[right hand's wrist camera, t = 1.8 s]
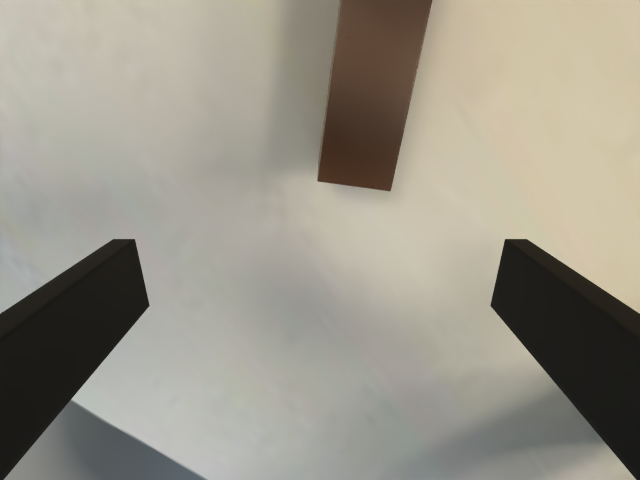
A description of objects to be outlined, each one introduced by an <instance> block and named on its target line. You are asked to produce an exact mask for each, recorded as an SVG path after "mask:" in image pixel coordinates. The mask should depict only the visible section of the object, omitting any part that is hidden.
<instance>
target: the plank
mask: <svg viewBox="0 0 640 480" xmlns="http://www.w3.org/2000/svg"><path fill="white" fill-rule="evenodd" d="M431 3H432V0H340V4H339V12H338V19H337V27H336V34H335V42H334V49H333V57H332V64H331V72H330V79H329V87H328V94H327V102H326V109H325V117H324V124H323V132H322V139H321V147H320V154H319V162H318V180H317V181H318V182H326V183H333V184H340V185H348V186H355V187H362V188H369V189H377V190H384V191H391V187H392V182H393V178H394V173H395V169H396V164H397V159H398V155H399V150H400V146H401V141H402V136H403V132H404V127H405V123H406V118H407V114H408V109H409V104H410V100H411V95H412V91H413V86H414V81H415V77H416V72H417V68H418V63H419V58H420V54H421V49H422V45H423V40H424V35H425V31H426V26H427V22H428V17H429V13H430V8H431Z"/></svg>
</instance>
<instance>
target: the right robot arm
mask: <svg viewBox="0 0 640 480" xmlns="http://www.w3.org/2000/svg"><path fill="white" fill-rule="evenodd" d="M148 307H149V301H148V297H147V292H146V288H145V283H144V279H143V274H142V270H141V265H140V260H139V256H138V251H137V247H136V242H135V239H113V240H111V241H110V242H108V243H107V244H105V245H104V246H102V247H101V248H99V249H98V250H96V251H95V252H93V253H92V254H90V255H89V256H87V257H86V258H84V259H83V260H81V261H80V262H78V263H77V264H75V265H74V266H72V267H71V268H69V269H67V270H66V271H64V272H63V273H61V274H60V275H58V276H57V277H55V278H54V279H52V280H51V281H49V282H48V283H46V284H45V285H43V286H42V287H40V288H39V289H37V290H36V291H34V292H33V293H31V294H30V295H28V296H27V297H25V298H24V299H22V300H21V301H19V302H18V303H16V304H15V305H13V306H12V307H10V308H9V309H7V310H5V311H4V312H2V313H1V314H0V480H4V478H5V477H6V476H7V475H8V474H9V472H10V471H11V470H12V469H13V468H14V467H15V465H16V464H17V463H18V462H19V460H20V459H21V458H22V457H23V456H24V455H25V453H26V452H27V451H28V450H29V449H30V447H31V446H32V445H33V444H34V443H35V442H36V440H37V439H38V438H39V437H40V436H41V434H42V433H43V432H44V431H45V430H46V428H47V427H48V426H49V425H50V424H51V422H52V421H53V420H54V419H55V418H56V416H57V415H58V414H59V413H60V412H61V411H62V409H63V408H64V407H65V406H66V405H67V403H68V402H69V401H70V400H71V399H72V397H73V396H74V395H75V394H76V393H77V391H78V390H79V389H80V388H81V387H82V386H83V384H84V383H85V382H86V381H87V380H88V378H89V377H90V376H91V375H92V374H93V372H94V371H95V370H96V369H97V368H98V366H99V365H100V364H101V363H102V362H103V360H104V359H105V358H106V357H107V356H108V355H109V353H110V352H111V351H112V350H113V349H114V347H115V346H116V345H117V344H118V343H119V341H120V340H121V339H122V338H123V337H124V335H125V334H126V333H127V332H128V331H129V330H130V328H131V327H132V326H133V325H134V324H135V322H136V321H137V320H138V319H139V318H140V316H141V315H142V314H143V313H144V312H145V310H146V309H147V308H148ZM491 307H492V308H493V309H494V310H495V312H496V313H497V314H498V315H499V316H500V318H501V319H502V320H503V321H504V322H505V324H506V325H507V326H508V327H509V328H510V330H511V331H512V332H513V333H514V334H515V335H516V337H517V338H518V339H519V340H520V341H521V343H522V344H523V345H524V346H525V347H526V349H527V350H528V351H529V352H530V353H531V355H532V356H533V357H534V358H535V359H536V360H537V362H538V363H539V364H540V365H541V366H542V368H543V369H544V370H545V371H546V372H547V374H548V375H549V376H550V377H551V378H552V380H553V381H554V382H555V383H556V384H557V386H558V387H559V388H560V389H561V390H562V391H563V393H564V394H565V395H566V396H567V397H568V399H569V400H570V401H571V402H572V403H573V405H574V406H575V407H576V408H577V409H578V411H579V412H580V413H581V414H582V415H583V416H584V418H585V419H586V420H587V421H588V422H589V424H590V425H591V426H592V427H593V428H594V430H595V431H596V432H597V433H598V434H599V436H600V437H601V438H602V439H603V440H604V442H605V443H606V444H607V445H608V446H609V447H610V449H611V450H612V451H613V452H614V453H615V455H616V456H617V457H618V458H619V459H620V461H621V462H622V463H623V464H624V465H625V467H626V468H627V469H628V470H629V471H630V472H631V474H632V475H633V476H634V477H635V478H636V480H640V314H639V313H638V312H636V311H635V310H633V309H631V308H630V307H628V306H627V305H625V304H624V303H622V302H621V301H619V300H618V299H616V298H615V297H613V296H612V295H610V294H609V293H607V292H606V291H604V290H603V289H601V288H600V287H598V286H597V285H595V284H594V283H592V282H591V281H589V280H588V279H586V278H585V277H583V276H582V275H580V274H579V273H577V272H576V271H574V270H573V269H571V268H569V267H568V266H566V265H565V264H563V263H562V262H560V261H559V260H557V259H556V258H554V257H553V256H551V255H550V254H548V253H547V252H545V251H544V250H542V249H541V248H539V247H538V246H536V245H535V244H533V243H532V242H530V241H529V240H527V239H505V242H504V247H503V251H502V256H501V260H500V265H499V270H498V274H497V279H496V283H495V288H494V292H493V297H492V301H491Z"/></svg>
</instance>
